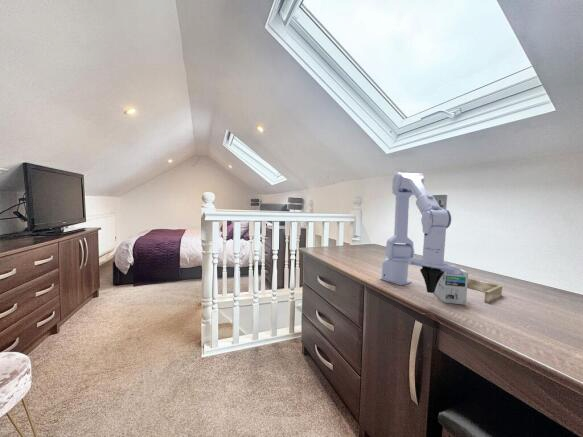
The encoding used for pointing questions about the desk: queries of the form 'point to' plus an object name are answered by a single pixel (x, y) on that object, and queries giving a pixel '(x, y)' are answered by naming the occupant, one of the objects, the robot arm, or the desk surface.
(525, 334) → the desk surface
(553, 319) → the desk surface
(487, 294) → the wooden frame
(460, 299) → the light bulb box
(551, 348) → the desk surface
